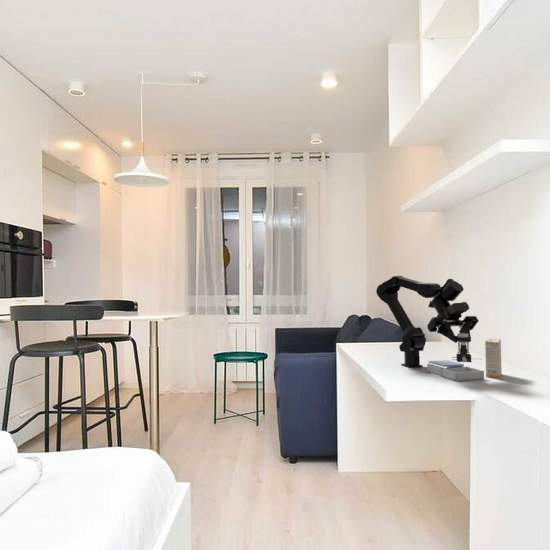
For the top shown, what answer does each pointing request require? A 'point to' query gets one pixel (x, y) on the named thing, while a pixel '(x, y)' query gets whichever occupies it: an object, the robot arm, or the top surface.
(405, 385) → the top surface
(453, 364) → the panel
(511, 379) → the top surface
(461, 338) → the push button
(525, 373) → the top surface
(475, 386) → the top surface
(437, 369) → the grey tray
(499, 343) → the supplement box
